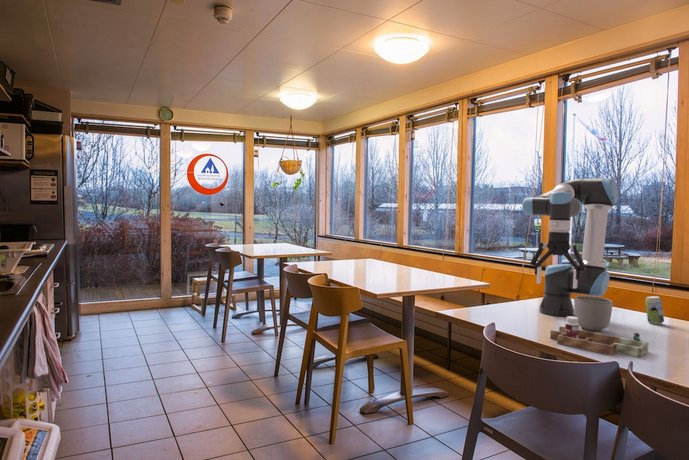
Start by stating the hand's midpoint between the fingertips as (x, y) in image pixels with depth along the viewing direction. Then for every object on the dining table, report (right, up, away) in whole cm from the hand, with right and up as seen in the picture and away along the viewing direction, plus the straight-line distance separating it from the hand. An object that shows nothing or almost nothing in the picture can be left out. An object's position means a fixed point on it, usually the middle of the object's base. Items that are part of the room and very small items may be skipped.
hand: (556, 285), depth 184 cm
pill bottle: (+3, -20, -5) cm, 21 cm away
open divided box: (+8, -20, -13) cm, 26 cm away
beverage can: (+54, -20, +24) cm, 62 cm away
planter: (+18, -20, +9) cm, 28 cm away
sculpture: (+27, -21, -8) cm, 35 cm away
